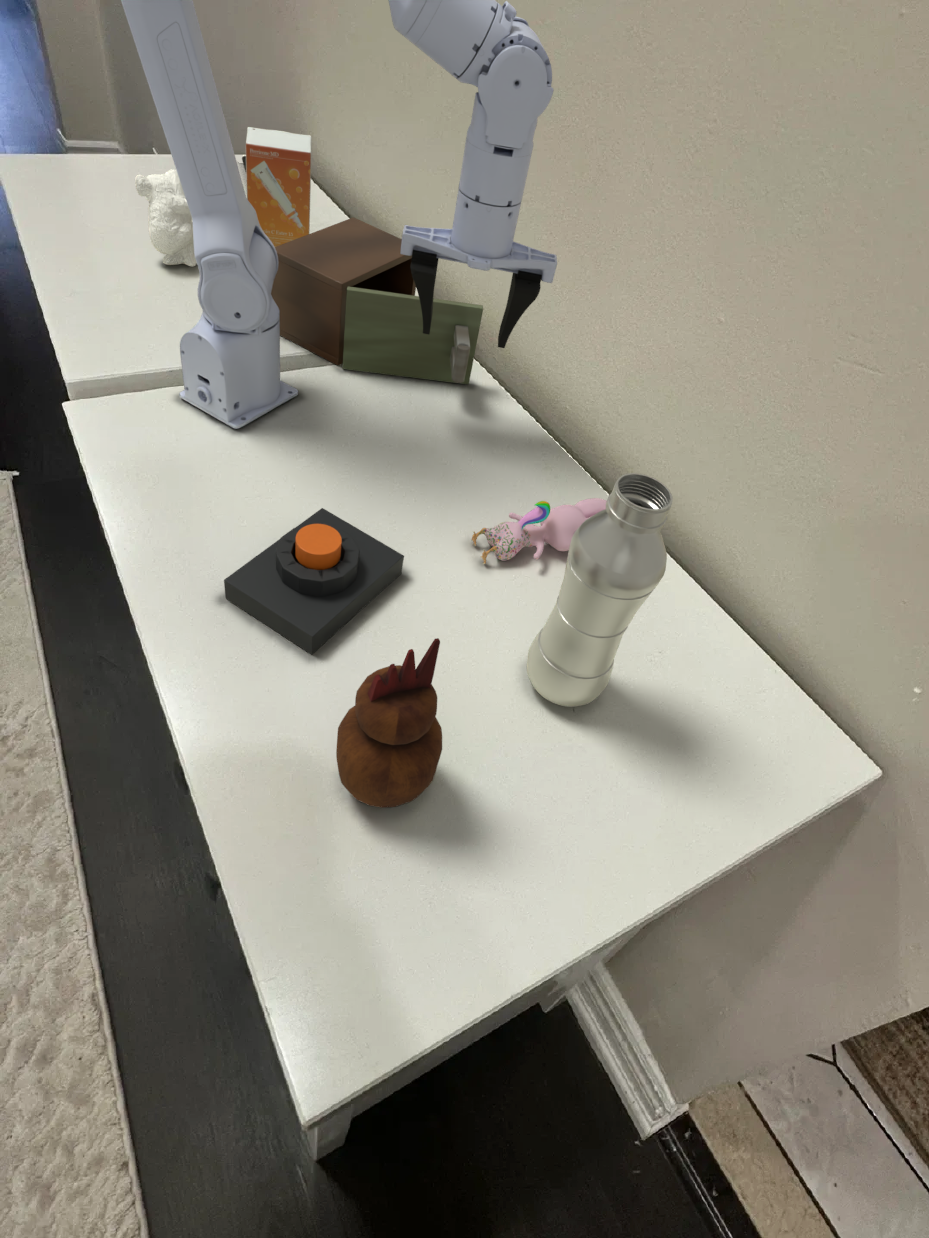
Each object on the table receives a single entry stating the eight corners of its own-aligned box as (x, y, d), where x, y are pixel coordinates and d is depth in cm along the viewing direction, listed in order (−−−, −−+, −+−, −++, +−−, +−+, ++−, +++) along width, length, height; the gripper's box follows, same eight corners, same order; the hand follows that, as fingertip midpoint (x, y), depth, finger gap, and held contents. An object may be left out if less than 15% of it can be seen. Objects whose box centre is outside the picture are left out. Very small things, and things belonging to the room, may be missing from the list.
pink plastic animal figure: (488, 588, 70) (634, 547, 73) (491, 542, 65) (646, 501, 69) (464, 542, 73) (603, 504, 77) (465, 495, 69) (613, 458, 72)
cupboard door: (471, 410, 86) (486, 332, 79) (339, 394, 84) (344, 313, 77) (468, 381, 90) (483, 305, 83) (342, 365, 88) (347, 286, 81)
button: (321, 577, 60) (321, 561, 59) (285, 555, 61) (285, 539, 60) (349, 553, 63) (350, 537, 61) (315, 533, 64) (315, 517, 62)
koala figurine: (208, 248, 101) (200, 147, 93) (220, 272, 98) (213, 169, 89) (140, 249, 98) (125, 145, 89) (150, 274, 94) (136, 168, 85)
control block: (311, 654, 60) (312, 621, 57) (225, 598, 62) (222, 563, 59) (401, 573, 67) (406, 540, 64) (321, 526, 70) (322, 491, 67)
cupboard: (411, 324, 97) (421, 247, 90) (338, 366, 88) (342, 284, 81) (349, 294, 99) (353, 217, 92) (271, 331, 90) (269, 248, 83)
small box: (248, 251, 103) (243, 142, 93) (250, 230, 107) (246, 125, 97) (309, 257, 104) (311, 152, 95) (309, 237, 109) (311, 134, 99)
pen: (254, 207, 112) (254, 199, 111) (240, 157, 123) (240, 150, 122) (261, 208, 112) (260, 200, 111) (246, 158, 123) (246, 150, 123)
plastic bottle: (549, 639, 65) (624, 445, 50) (615, 686, 63) (714, 497, 48) (504, 681, 61) (571, 484, 47) (572, 733, 59) (665, 543, 44)
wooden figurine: (430, 749, 56) (465, 612, 45) (430, 822, 52) (468, 692, 41) (337, 743, 55) (348, 602, 44) (330, 817, 51) (341, 683, 40)
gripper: (404, 193, 64) (388, 342, 74) (572, 227, 66) (534, 369, 76) (412, 165, 69) (396, 309, 79) (568, 197, 71) (533, 334, 81)
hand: (464, 336), depth 78 cm, fingers open, 7 cm apart
